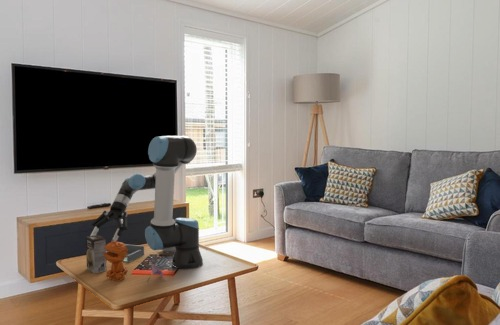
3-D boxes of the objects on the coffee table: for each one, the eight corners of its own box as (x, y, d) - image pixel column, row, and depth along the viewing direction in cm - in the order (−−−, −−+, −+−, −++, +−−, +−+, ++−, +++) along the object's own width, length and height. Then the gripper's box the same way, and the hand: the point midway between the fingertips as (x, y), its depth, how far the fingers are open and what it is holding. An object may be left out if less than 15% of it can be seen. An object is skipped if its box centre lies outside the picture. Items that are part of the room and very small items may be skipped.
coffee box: (86, 269, 212) (85, 236, 211) (99, 266, 217) (98, 234, 216) (94, 273, 206) (92, 240, 205) (107, 270, 210) (106, 237, 209)
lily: (162, 288, 189) (171, 266, 192) (137, 278, 188) (146, 257, 191) (162, 287, 201) (171, 267, 204) (138, 278, 200) (147, 258, 203)
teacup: (176, 254, 236) (175, 240, 236) (157, 253, 239) (156, 239, 238) (185, 247, 250) (184, 234, 249) (167, 246, 252) (166, 233, 252)
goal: (144, 255, 236) (143, 245, 236) (128, 262, 223) (128, 252, 223) (118, 252, 241) (118, 243, 241) (102, 259, 228) (102, 250, 228)
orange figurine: (101, 277, 201) (100, 238, 200) (125, 273, 206) (124, 235, 205) (106, 284, 191) (105, 244, 190) (131, 280, 197) (130, 240, 195)
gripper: (143, 210, 229) (127, 246, 216) (103, 207, 237) (85, 241, 224) (137, 201, 223) (120, 238, 210) (96, 199, 231) (78, 234, 219)
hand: (102, 240), depth 217 cm, fingers open, 13 cm apart
